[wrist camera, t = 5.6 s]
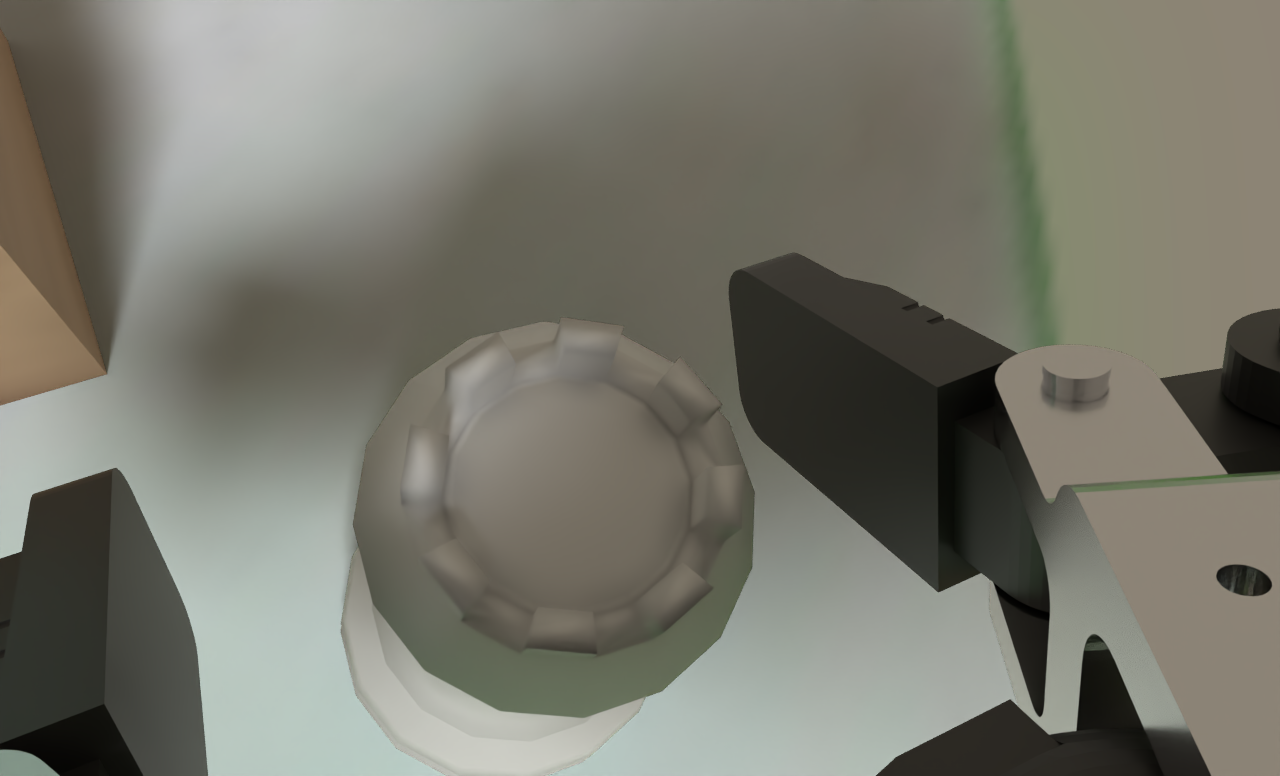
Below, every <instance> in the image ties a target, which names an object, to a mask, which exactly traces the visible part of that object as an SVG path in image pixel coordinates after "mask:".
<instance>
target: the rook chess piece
mask: <svg viewBox="0 0 1280 776" xmlns="http://www.w3.org/2000/svg"><path fill="white" fill-rule="evenodd" d="M623 328H624V326H621V325H614V324H607V323H600V322H593V321H586V320H579V319H572V318H565V317H561V318H560V322H559V323H552V322H544V321H543V322H538V323H534V324H529V325H525V326H521V327H516V328H512V329H508V330H503V331H498V332H494V333H490V334H486V335H481V336H477V337H473V338H470V339H468V340H467V341H466V342H464V343H463V344H461V345H460V346H458V347H457V348H455V349H454V350H452V351H451V352H450V353H448V354H447V355H445V356H444V357H442V358H441V359H439V360H438V361H436V362H435V363H434V364H432V365H431V366H429V367H428V368H426V369H425V370H423V371H422V372H420V373H419V374H418V375H416V376H415V377H413V378H412V379H410V380H409V381H408V382H407V384H406V385H405V387H404V388H403V390H402V391H401V393H400V395H399V396H398V398H397V399H396V401H395V402H394V404H393V405H392V407H391V408H390V410H389V411H388V413H387V415H386V416H385V418H384V419H383V421H382V422H381V424H380V425H379V427H378V428H377V430H376V432H375V433H374V435H373V436H372V438H371V439H370V441H369V442H368V444H367V445H366V450H365V456H364V462H363V468H362V474H361V480H360V486H359V492H358V497H357V503H356V509H355V515H354V521H353V527H354V531H355V535H356V539H357V543H358V548H357V550H356V552H355V553H354V555H353V556H352V560H351V566H350V572H349V578H348V584H347V590H346V596H345V602H344V608H343V613H342V619H341V625H342V626H341V635H342V640H343V644H344V648H345V652H346V656H347V660H348V665H349V669H350V673H351V677H352V681H353V685H354V690H355V694H356V696H357V698H358V699H359V700H360V702H361V703H362V704H363V706H364V707H365V708H366V710H367V711H368V712H369V713H370V715H371V716H372V717H373V719H374V720H375V721H376V723H377V724H378V725H379V727H380V728H381V729H382V731H383V732H384V733H385V734H386V736H387V737H388V738H389V740H390V741H391V742H392V744H393V745H394V746H395V748H396V749H398V750H400V751H402V752H404V753H406V754H408V755H409V756H411V757H413V758H415V759H417V760H419V761H420V762H422V763H424V764H426V765H428V766H430V767H432V768H433V769H435V770H437V771H439V772H441V773H443V774H445V775H446V776H546V775H549V774H552V773H554V772H557V771H560V770H563V769H566V768H568V767H571V766H574V765H577V764H580V763H582V762H584V761H585V760H586V759H587V758H589V757H590V756H591V755H592V754H594V753H595V752H596V751H597V750H598V749H599V748H600V747H601V746H602V745H603V744H604V743H606V742H607V741H608V740H609V739H610V738H611V737H612V736H613V735H614V734H615V733H616V732H618V731H619V730H620V729H621V728H622V727H623V726H624V725H625V724H626V723H627V722H628V721H630V720H631V719H632V718H633V717H634V716H635V715H636V714H637V713H638V712H639V710H640V708H641V706H642V704H643V702H644V700H645V698H646V697H647V696H650V695H653V694H656V693H658V692H661V691H663V690H664V689H665V688H666V687H667V686H668V685H669V684H670V683H671V682H673V681H674V680H675V679H676V678H677V677H678V676H679V675H680V674H681V673H682V672H683V671H685V670H686V669H687V668H688V667H689V666H690V665H691V664H692V663H693V662H694V661H695V660H697V659H698V658H699V657H700V656H701V655H702V654H703V653H704V652H705V651H706V650H707V649H709V648H710V647H711V646H712V645H713V644H714V643H715V642H716V641H717V640H718V639H719V638H720V637H721V635H722V633H723V631H724V629H725V626H726V624H727V622H728V620H729V618H730V615H731V613H732V611H733V609H734V606H735V604H736V602H737V600H738V598H739V595H740V593H741V591H742V589H743V586H744V584H745V582H746V580H747V578H748V575H749V573H750V571H751V569H752V558H753V524H754V489H753V486H752V484H751V481H750V478H749V475H748V473H747V470H746V467H745V464H744V462H743V459H742V456H741V453H740V451H739V448H738V445H737V442H736V440H735V437H734V434H733V431H732V429H731V426H730V423H729V421H728V420H727V419H726V418H725V417H724V416H723V415H722V413H721V412H720V411H719V410H718V409H719V408H720V406H721V405H722V404H721V403H720V401H719V400H718V399H717V398H716V397H715V396H714V395H713V393H712V392H711V391H710V390H709V389H708V388H707V387H706V385H705V384H704V383H703V382H702V381H701V380H700V378H699V377H698V376H697V375H696V374H695V373H694V372H693V370H692V369H691V368H690V367H689V366H688V365H687V364H686V362H685V361H684V360H683V359H682V358H681V357H679V358H678V360H677V361H676V362H675V363H673V362H671V361H670V360H668V359H666V358H664V357H662V356H660V355H658V354H657V353H655V352H653V351H651V350H649V349H647V348H646V347H644V346H642V345H640V344H638V343H636V342H635V341H633V340H631V339H629V338H627V337H625V336H623V335H622V331H623Z"/></svg>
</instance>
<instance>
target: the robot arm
mask: <svg viewBox="0 0 1280 776" xmlns="http://www.w3.org/2000/svg"><path fill="white" fill-rule="evenodd" d="M729 301H730V310H731V319H732V328H733V337H734V346H735V355H736V364H737V373H738V382H739V390H740V396H741V401H742V405H743V408H744V411H745V413H746V416H747V418H748V420H749V423H750V424H751V426H752V428H753V430H754V431H755V433H756V434H757V436H758V437H759V438H760V439H761V440H762V441H763V442H764V443H765V444H766V445H767V446H768V447H770V448H771V449H772V450H773V451H774V452H775V453H777V454H778V455H779V456H780V457H781V458H782V459H784V460H785V461H786V462H787V463H788V464H789V465H791V466H792V467H793V468H794V469H795V470H796V471H798V472H799V473H800V474H801V475H802V476H803V477H805V478H806V479H807V480H808V481H809V482H810V483H812V484H813V485H814V486H815V487H816V488H817V489H819V490H820V491H821V492H822V493H823V494H824V495H826V496H827V497H828V498H829V499H830V500H831V501H833V502H834V503H835V504H836V505H837V506H838V507H840V508H841V509H842V510H843V511H844V512H845V513H847V514H848V515H849V516H850V517H851V518H852V519H854V520H855V521H856V522H857V523H858V524H859V525H861V526H862V527H863V528H864V529H865V530H866V531H867V532H869V533H870V534H871V535H872V536H873V537H874V538H876V539H877V540H878V541H879V542H880V543H881V544H883V545H884V546H885V547H886V548H887V549H888V550H890V551H891V552H892V553H893V554H894V555H895V556H897V557H898V558H899V559H900V560H901V561H902V562H904V563H905V564H906V565H907V566H908V567H909V568H911V569H912V570H913V571H914V572H915V573H916V574H918V575H919V576H920V577H921V578H922V579H923V580H925V581H926V582H927V583H928V584H929V585H930V586H932V587H933V588H934V589H935V590H936V591H937V592H940V591H943V590H945V589H947V588H949V587H951V586H953V585H956V584H958V583H960V582H962V581H964V580H967V579H969V578H971V577H973V576H975V575H978V574H980V573H982V574H983V575H985V576H986V577H987V578H989V579H990V592H989V610H990V615H991V619H992V622H993V625H994V629H995V632H996V635H997V638H998V642H999V645H1000V648H1001V652H1002V655H1003V658H1004V662H1005V665H1006V668H1007V671H1008V675H1009V678H1010V681H1011V685H1012V688H1013V691H1014V695H1015V698H1016V701H1017V705H1018V706H1017V705H1016V704H1015V703H1014V702H1012V701H1011V700H1008V701H1006V702H1004V703H1002V704H1000V705H998V706H996V707H994V708H992V709H990V710H988V711H986V712H984V713H982V714H980V715H978V716H976V717H974V718H973V719H971V720H969V721H967V722H965V723H963V724H961V725H959V726H957V727H955V728H953V729H951V730H949V731H947V732H945V733H943V734H941V735H939V736H937V737H935V738H933V739H931V740H929V741H927V742H925V743H923V744H921V745H919V746H917V747H915V748H913V749H911V750H909V751H907V752H905V753H903V754H901V755H899V756H897V757H896V758H895V759H894V760H893V761H892V762H890V763H889V764H888V765H887V766H886V767H885V768H884V769H883V770H882V771H881V772H879V773H878V774H877V775H876V776H1280V309H1272V310H1266V311H1261V312H1257V313H1253V314H1250V315H1247V316H1245V317H1243V318H1241V319H1239V320H1237V321H1236V322H1235V323H1234V324H1233V325H1232V326H1231V327H1230V329H1229V331H1228V334H1227V341H1226V348H1225V354H1224V361H1223V368H1222V369H1215V370H1209V371H1203V372H1197V373H1191V374H1185V375H1178V376H1172V377H1167V378H1159V377H1158V376H1157V374H1156V373H1155V372H1154V371H1153V370H1152V369H1151V368H1150V367H1149V366H1148V365H1146V364H1145V363H1144V362H1142V361H1140V360H1138V359H1136V358H1134V357H1133V356H1130V355H1127V354H1125V353H1122V352H1119V351H1115V350H1112V349H1107V348H1102V347H1097V346H1088V345H1070V344H1068V345H1052V346H1044V347H1039V348H1034V349H1030V350H1027V351H1024V352H1021V353H1019V354H1018V353H1016V352H1014V351H1012V350H1010V349H1008V348H1006V347H1004V346H1002V345H1000V344H998V343H996V342H994V341H993V340H991V339H989V338H987V337H985V336H983V335H981V334H979V333H977V332H975V331H973V330H971V329H969V328H967V327H965V326H963V325H961V324H959V323H957V322H955V321H953V320H951V319H950V318H949V319H946V320H944V318H943V315H942V314H940V313H938V312H936V311H934V310H932V309H930V308H928V307H926V306H921V307H919V305H918V302H916V301H914V300H912V299H910V298H909V297H907V296H905V295H903V294H901V293H899V292H897V291H895V290H893V289H891V288H889V287H887V286H882V285H877V284H872V283H868V282H863V281H858V280H853V279H848V278H844V277H842V276H840V275H838V274H836V273H834V272H832V271H830V270H828V269H827V268H825V267H823V266H821V265H819V264H817V263H815V262H813V261H811V260H810V259H808V258H806V257H804V256H802V255H800V254H797V253H790V254H787V255H784V256H781V257H778V258H775V259H771V260H768V261H765V262H762V263H759V264H756V265H753V266H750V267H746V268H743V269H740V270H737V271H735V272H734V273H733V275H732V276H731V279H730V283H729ZM0 776H208V770H207V758H206V747H205V736H204V724H203V713H202V701H201V690H200V678H199V667H198V656H197V648H196V643H195V639H194V635H193V631H192V627H191V624H190V620H189V617H188V614H187V611H186V609H185V606H184V603H183V601H182V598H181V596H180V594H179V591H178V589H177V587H176V585H175V583H174V581H173V578H172V576H171V574H170V572H169V570H168V568H167V565H166V563H165V561H164V559H163V557H162V555H161V552H160V550H159V548H158V546H157V544H156V542H155V540H154V537H153V535H152V533H151V531H150V529H149V527H148V524H147V522H146V520H145V518H144V516H143V514H142V512H141V509H140V507H139V505H138V503H137V501H136V499H135V496H134V494H133V492H132V490H131V488H130V486H129V484H128V482H127V481H126V479H125V477H124V476H123V474H122V473H121V472H120V471H119V470H118V469H117V468H113V469H110V470H107V471H104V472H101V473H98V474H95V475H92V476H88V477H85V478H82V479H79V480H76V481H73V482H70V483H66V484H63V485H60V486H57V487H54V488H51V489H48V490H45V491H41V492H38V493H35V494H33V495H32V497H31V500H30V506H29V512H28V518H27V524H26V530H25V536H24V542H23V548H22V552H19V553H16V554H13V555H10V556H7V557H4V558H1V559H0Z"/></svg>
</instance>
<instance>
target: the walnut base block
mask: <svg viewBox="0 0 1280 776" xmlns="http://www.w3.org/2000/svg"><path fill="white" fill-rule="evenodd" d="M105 374H107V372H106V369H105V365H104V362H103V359H102V355H101V352H100V349H99V345H98V342H97V339H96V335H95V332H94V328H93V325H92V322H91V318H90V315H89V312H88V308H87V305H86V302H85V298H84V295H83V292H82V288H81V285H80V282H79V278H78V275H77V271H76V268H75V265H74V261H73V258H72V255H71V251H70V248H69V245H68V241H67V238H66V235H65V231H64V228H63V224H62V221H61V218H60V214H59V211H58V208H57V204H56V201H55V198H54V194H53V191H52V188H51V184H50V181H49V177H48V174H47V171H46V167H45V164H44V161H43V157H42V154H41V151H40V147H39V144H38V141H37V137H36V134H35V130H34V127H33V124H32V120H31V117H30V114H29V110H28V107H27V104H26V100H25V97H24V94H23V90H22V87H21V84H20V80H19V77H18V73H17V70H16V67H15V63H14V60H13V57H12V53H11V50H10V47H9V43H8V41H7V39H6V37H5V35H4V34H3V32H2V30H1V29H0V405H3V404H7V403H10V402H13V401H17V400H20V399H24V398H27V397H31V396H34V395H37V394H41V393H44V392H48V391H51V390H54V389H58V388H61V387H65V386H68V385H71V384H75V383H78V382H82V381H85V380H88V379H92V378H95V377H99V376H102V375H105Z"/></svg>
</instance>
